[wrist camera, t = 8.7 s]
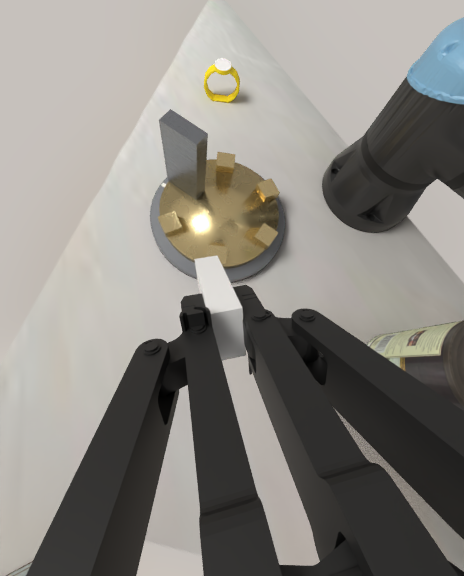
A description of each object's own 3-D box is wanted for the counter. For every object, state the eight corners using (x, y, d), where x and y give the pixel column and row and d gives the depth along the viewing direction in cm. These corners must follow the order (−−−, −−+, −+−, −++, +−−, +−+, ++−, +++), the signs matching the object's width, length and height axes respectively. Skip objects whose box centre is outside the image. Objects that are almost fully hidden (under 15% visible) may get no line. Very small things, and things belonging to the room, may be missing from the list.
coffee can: (423, 420, 37) (552, 450, 24) (353, 392, 37) (443, 407, 23) (432, 348, 40) (550, 338, 27) (368, 322, 40) (455, 300, 27)
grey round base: (265, 162, 46) (267, 154, 44) (296, 271, 41) (300, 267, 39) (144, 172, 42) (142, 164, 41) (161, 293, 37) (160, 290, 36)
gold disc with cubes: (297, 207, 42) (332, 151, 31) (236, 293, 37) (253, 261, 26) (206, 148, 43) (210, 73, 32) (135, 223, 38) (110, 164, 27)
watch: (204, 104, 48) (202, 69, 43) (205, 92, 49) (203, 56, 43) (237, 106, 49) (240, 71, 43) (238, 95, 49) (240, 59, 44)
